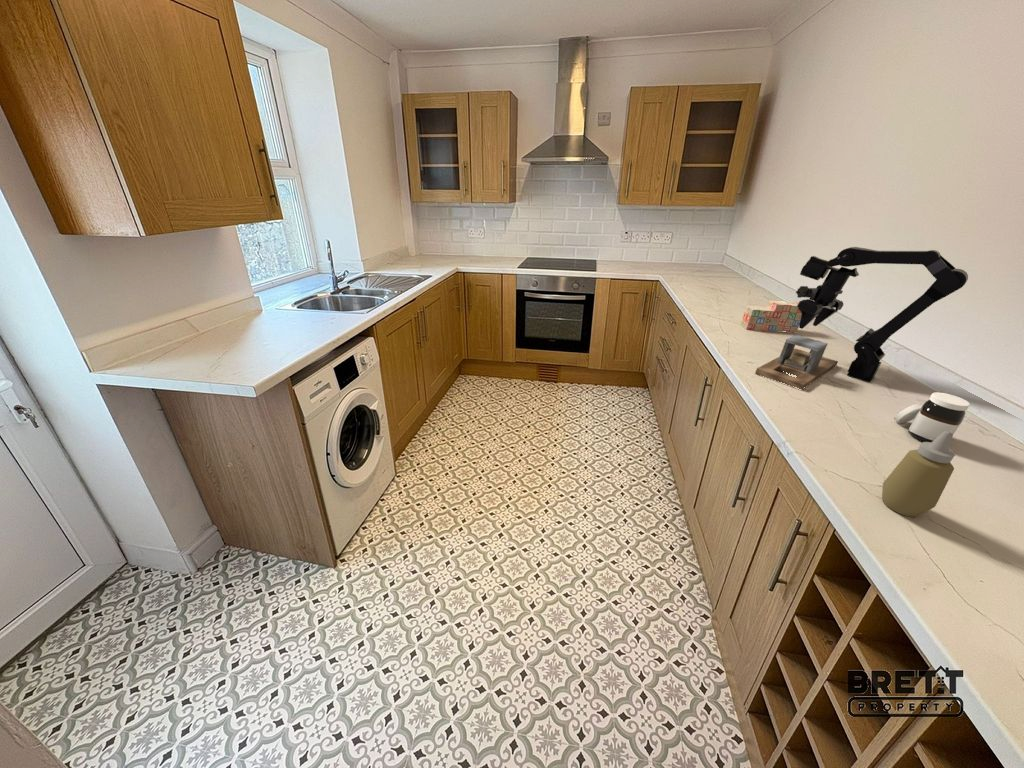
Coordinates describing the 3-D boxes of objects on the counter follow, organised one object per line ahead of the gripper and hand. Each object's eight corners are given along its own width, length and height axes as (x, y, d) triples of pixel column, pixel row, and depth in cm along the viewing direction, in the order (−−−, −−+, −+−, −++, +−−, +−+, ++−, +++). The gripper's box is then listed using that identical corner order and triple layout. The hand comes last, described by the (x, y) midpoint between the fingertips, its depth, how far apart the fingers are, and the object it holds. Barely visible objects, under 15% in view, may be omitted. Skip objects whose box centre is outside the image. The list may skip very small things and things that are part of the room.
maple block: (805, 366, 137) (810, 355, 136) (801, 369, 135) (805, 358, 133) (792, 362, 140) (797, 351, 138) (788, 365, 138) (792, 354, 136)
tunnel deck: (835, 366, 144) (849, 337, 139) (801, 390, 126) (814, 358, 121) (793, 353, 154) (804, 325, 148) (754, 373, 135) (765, 343, 130)
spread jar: (943, 452, 99) (970, 411, 94) (885, 431, 107) (907, 392, 101) (950, 435, 106) (975, 397, 100) (895, 416, 113) (916, 380, 108)
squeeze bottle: (901, 492, 85) (947, 420, 76) (938, 522, 78) (994, 446, 69) (864, 492, 84) (907, 420, 76) (898, 522, 77) (949, 445, 69)
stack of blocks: (746, 330, 176) (755, 302, 170) (740, 325, 182) (748, 298, 176) (796, 333, 175) (807, 306, 169) (789, 328, 181) (799, 301, 175)
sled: (823, 358, 144) (829, 343, 141) (803, 370, 134) (810, 354, 131) (803, 352, 148) (809, 338, 146) (783, 364, 138) (789, 348, 135)
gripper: (822, 275, 146) (799, 315, 154) (794, 277, 137) (772, 319, 146) (855, 287, 138) (829, 328, 146) (827, 290, 129) (801, 333, 138)
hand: (807, 326), depth 144 cm, fingers open, 9 cm apart
